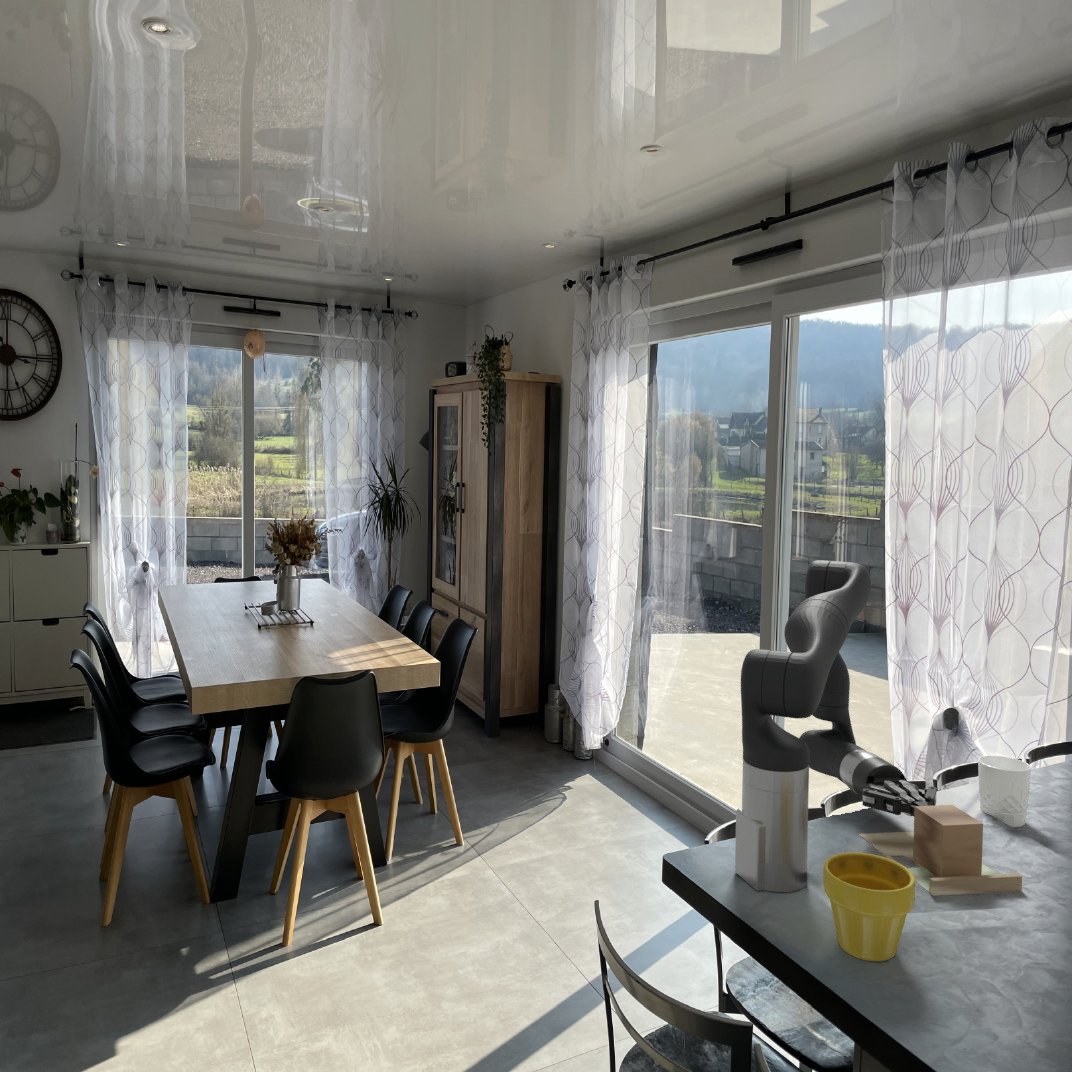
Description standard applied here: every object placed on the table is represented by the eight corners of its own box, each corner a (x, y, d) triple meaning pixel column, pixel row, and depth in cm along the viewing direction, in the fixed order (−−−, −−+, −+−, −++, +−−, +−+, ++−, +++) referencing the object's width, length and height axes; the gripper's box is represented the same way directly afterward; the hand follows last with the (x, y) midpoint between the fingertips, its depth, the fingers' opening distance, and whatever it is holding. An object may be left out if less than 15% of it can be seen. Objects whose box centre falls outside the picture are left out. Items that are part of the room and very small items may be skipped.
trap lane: (858, 843, 130) (858, 821, 130) (934, 839, 131) (935, 818, 131) (932, 905, 110) (933, 880, 110) (1021, 901, 111) (1022, 876, 111)
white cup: (1039, 829, 135) (1041, 771, 135) (991, 829, 135) (993, 770, 135) (1012, 811, 143) (1014, 755, 143) (967, 810, 143) (969, 755, 143)
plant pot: (872, 981, 93) (874, 898, 92) (804, 937, 102) (805, 861, 101) (931, 957, 98) (934, 878, 97) (861, 917, 107) (863, 845, 106)
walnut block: (913, 858, 121) (914, 806, 120) (950, 857, 121) (952, 804, 121) (941, 881, 114) (943, 825, 113) (981, 879, 114) (983, 823, 114)
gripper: (835, 757, 137) (891, 795, 120) (908, 755, 139) (974, 791, 121) (834, 801, 137) (889, 844, 120) (907, 798, 139) (972, 840, 122)
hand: (932, 818), depth 121 cm, fingers closed
